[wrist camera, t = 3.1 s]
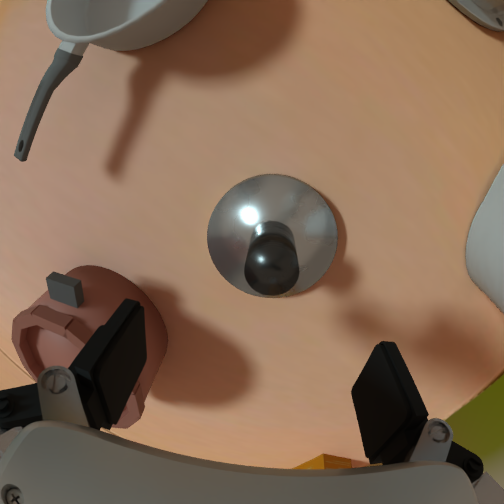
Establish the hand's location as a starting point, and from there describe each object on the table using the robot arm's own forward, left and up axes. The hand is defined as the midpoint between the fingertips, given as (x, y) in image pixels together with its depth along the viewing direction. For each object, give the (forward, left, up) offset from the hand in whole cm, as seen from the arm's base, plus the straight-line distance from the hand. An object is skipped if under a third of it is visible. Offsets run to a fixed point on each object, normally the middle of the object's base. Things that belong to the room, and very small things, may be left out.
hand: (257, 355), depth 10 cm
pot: (+14, +11, -11) cm, 21 cm away
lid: (0, -1, -11) cm, 11 cm away
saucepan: (+14, -14, -12) cm, 23 cm away
